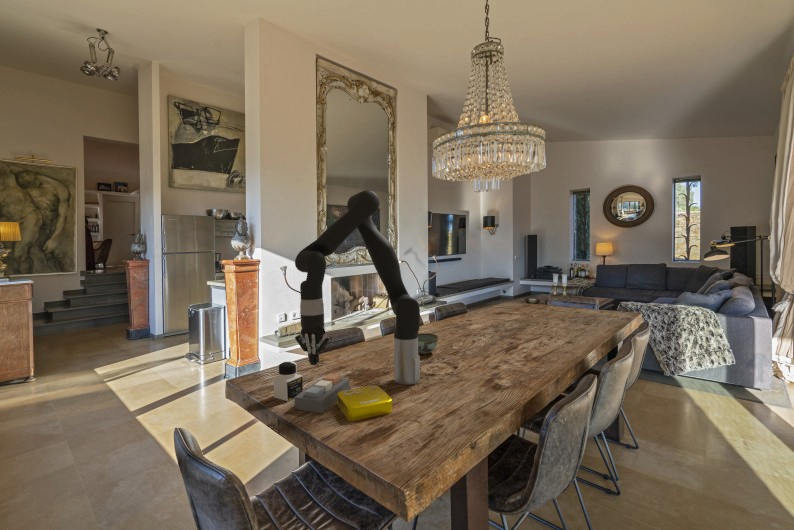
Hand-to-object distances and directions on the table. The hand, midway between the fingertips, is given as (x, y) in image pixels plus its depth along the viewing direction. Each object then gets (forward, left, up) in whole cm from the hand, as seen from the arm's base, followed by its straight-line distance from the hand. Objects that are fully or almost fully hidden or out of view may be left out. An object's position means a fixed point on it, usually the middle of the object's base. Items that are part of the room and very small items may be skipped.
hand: (314, 364), depth 127 cm
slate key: (0, 0, -12) cm, 12 cm away
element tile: (-16, -4, -15) cm, 22 cm away
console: (0, -6, -14) cm, 15 cm away
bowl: (-19, -69, -14) cm, 73 cm away
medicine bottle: (+13, -4, -14) cm, 20 cm away
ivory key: (0, -6, -12) cm, 14 cm away
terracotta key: (0, -12, -12) cm, 17 cm away
